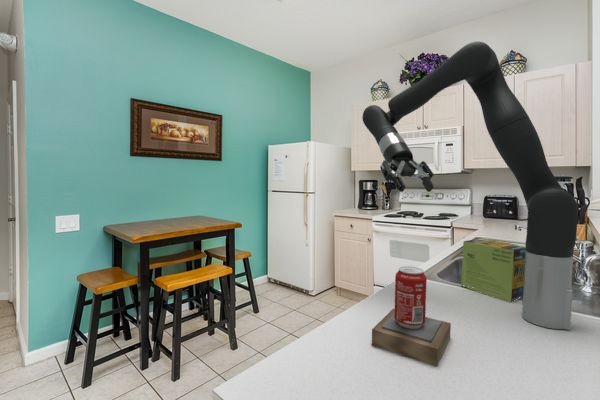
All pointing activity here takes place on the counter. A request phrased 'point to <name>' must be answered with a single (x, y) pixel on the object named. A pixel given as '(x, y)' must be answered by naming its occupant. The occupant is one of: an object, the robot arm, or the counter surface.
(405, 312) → the beverage can
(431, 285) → the counter surface
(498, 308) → the counter surface
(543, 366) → the counter surface
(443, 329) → the walnut plinth
